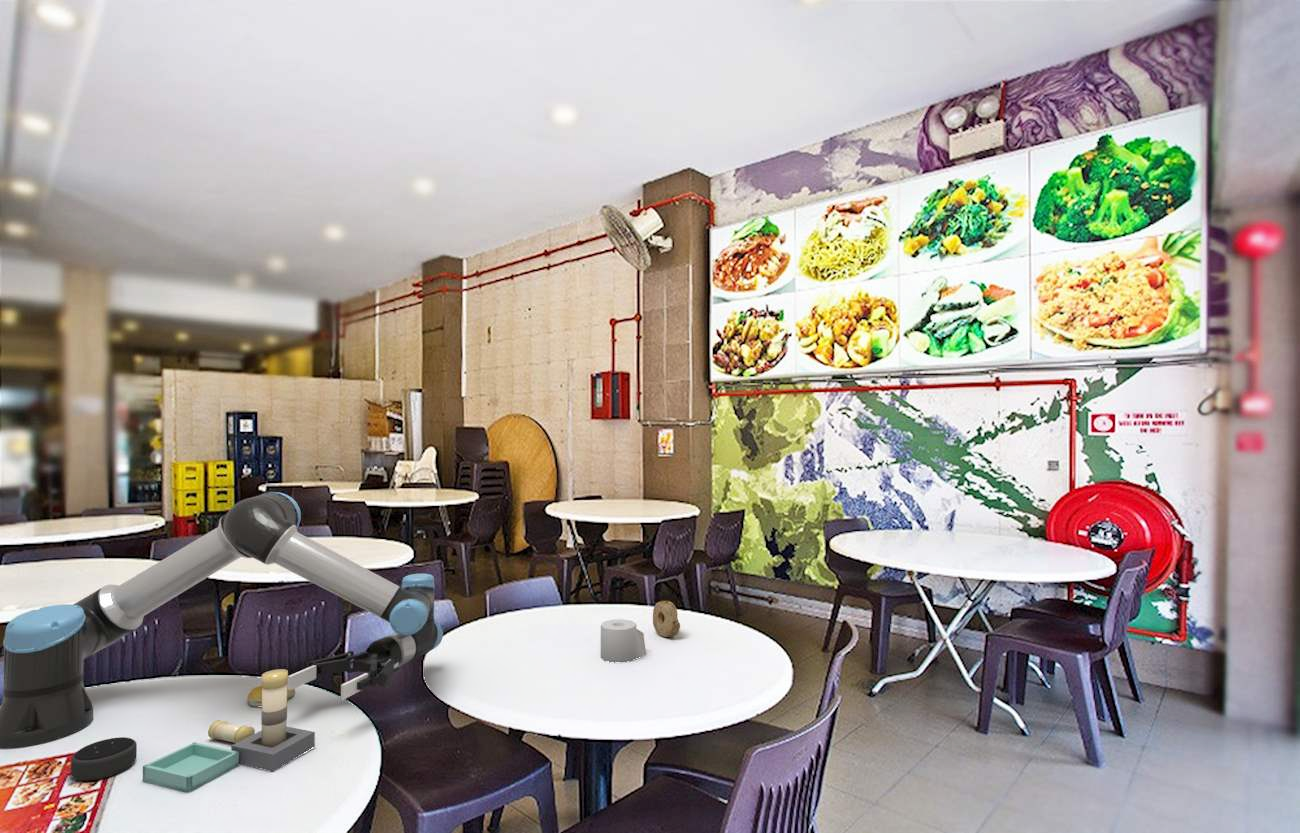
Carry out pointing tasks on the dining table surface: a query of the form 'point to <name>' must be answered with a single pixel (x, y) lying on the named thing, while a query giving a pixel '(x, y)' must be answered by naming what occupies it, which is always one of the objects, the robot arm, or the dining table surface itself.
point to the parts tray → (190, 767)
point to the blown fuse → (274, 707)
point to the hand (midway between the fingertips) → (315, 687)
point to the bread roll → (256, 696)
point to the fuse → (229, 731)
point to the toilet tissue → (621, 641)
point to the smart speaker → (103, 758)
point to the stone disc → (665, 619)
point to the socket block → (274, 749)
